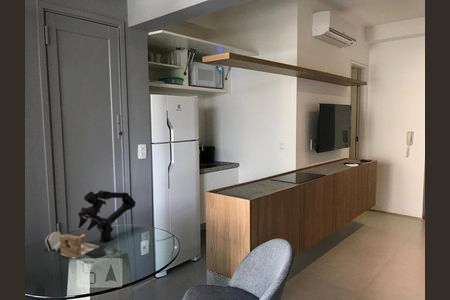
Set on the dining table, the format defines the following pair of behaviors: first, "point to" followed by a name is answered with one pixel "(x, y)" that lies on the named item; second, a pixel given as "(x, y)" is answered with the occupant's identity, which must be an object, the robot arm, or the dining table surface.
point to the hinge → (53, 241)
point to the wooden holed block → (82, 238)
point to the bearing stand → (74, 246)
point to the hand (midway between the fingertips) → (83, 229)
